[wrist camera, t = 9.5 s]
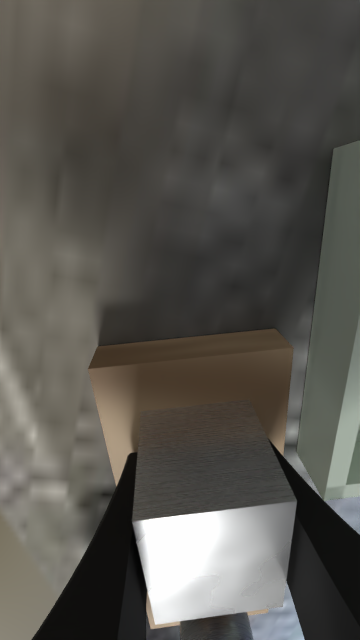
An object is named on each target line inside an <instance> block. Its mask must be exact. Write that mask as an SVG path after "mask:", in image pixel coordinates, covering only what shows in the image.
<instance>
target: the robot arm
mask: <svg viewBox="0 0 360 640" xmlns="http://www.w3.org/2000/svg"><path fill="white" fill-rule="evenodd" d="M268 440H269V442H270V444H271V447H272V449H273V451H274V453H275V455H276V457H277V459H278V461H279V464H280V466H281V468H282V470H283V472H284V474H285V476H286V478H287V481H288V483H289V485H290V487H291V489H292V491H293V493H294V496H295V498H296V500H297V505H296V512H295V520H294V527H293V534H292V542H291V549H290V557H289V564H288V571H287V579H286V581H287V584H288V587H289V589H290V592H291V595H292V599H293V602H294V605H295V609H296V612H297V615H298V618H299V622H300V625H301V628H302V632H303V635H304V639H305V640H360V535H359V534H358V533H357V532H356V531H355V530H354V529H353V528H351V527H350V526H349V525H348V524H347V523H346V522H345V521H344V520H343V519H342V518H341V517H340V516H339V515H338V514H337V513H336V512H335V511H334V510H333V509H332V508H331V507H330V506H329V505H328V504H327V503H326V502H324V501H323V499H322V498H321V497H320V496H319V495H318V494H317V493H316V492H315V491H314V490H313V489H312V488H311V487H310V486H309V485H308V484H307V483H306V482H305V480H304V479H303V478H302V477H301V476H300V475H299V474H298V473H297V472H296V471H295V469H294V468H293V467H292V466H291V465H290V464H289V463H288V461H287V460H286V459H285V458H284V457H283V455H282V454H281V453H280V452H279V451H278V449H277V448H276V447H275V446H274V444H273V443H272V442H271V441H270V439H268ZM137 454H138V452H134V453H130V454H129V455H128V456H127V460H126V463H125V466H124V469H123V471H122V474H121V477H120V479H119V482H118V484H117V487H116V489H115V492H114V494H113V496H112V499H111V501H110V503H109V505H108V508H107V510H106V512H105V514H104V516H103V518H102V520H101V522H100V524H99V526H98V529H97V531H96V533H95V535H94V537H93V539H92V541H91V543H90V544H89V546H88V548H87V550H86V552H85V554H84V556H83V557H82V559H81V561H80V563H79V565H78V566H77V568H76V570H75V572H74V573H73V575H72V577H71V579H70V580H69V582H68V584H67V585H66V587H65V588H64V590H63V592H62V593H61V595H60V597H59V598H58V600H57V602H56V603H55V605H54V607H53V608H52V610H51V611H50V613H49V614H48V616H47V618H46V619H45V621H44V622H43V624H42V625H41V627H40V628H39V630H38V631H37V633H36V634H35V636H34V637H33V639H32V640H146V603H147V586H146V581H145V577H144V573H143V568H142V564H141V559H140V555H139V550H138V546H137V542H136V537H135V533H134V528H133V524H132V516H133V504H134V491H135V479H136V467H137Z"/></svg>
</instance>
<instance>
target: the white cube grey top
mask: <svg viewBox="0 0 360 640" xmlns="http://www.w3.org/2000/svg"><path fill="white" fill-rule="evenodd" d="M296 505H297V500H296V498H295V496H294V493H293V491H292V489H291V487H290V485H289V483H288V481H287V478H286V476H285V474H284V472H283V470H282V468H281V466H280V464H279V461H278V459H277V457H276V455H275V453H274V451H273V449H272V447H271V444H270V442H269V440H268V438H267V436H266V434H265V432H264V430H263V427H262V425H261V423H260V421H259V419H258V417H257V415H256V412H255V410H254V408H253V406H252V404H251V402H250V400H249V399H248V400H239V401H230V402H221V403H212V404H203V405H194V406H185V407H176V408H167V409H158V410H149V411H141V417H140V430H139V442H138V454H137V467H136V479H135V491H134V504H133V516H132V524H133V528H134V533H135V537H136V542H137V546H138V550H139V555H140V559H141V564H142V568H143V573H144V577H145V581H146V586H147V590H148V595H149V599H150V604H151V608H152V613H153V617H154V621H155V625H157V624H164V623H171V622H178V621H185V620H192V619H199V618H206V617H213V616H220V615H227V614H235V613H242V612H249V611H256V610H263V609H270V608H277V607H283V601H284V593H285V586H286V579H287V571H288V564H289V557H290V549H291V542H292V534H293V527H294V520H295V512H296Z"/></svg>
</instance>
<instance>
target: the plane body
mask: <svg viewBox="0 0 360 640" xmlns="http://www.w3.org/2000/svg"><path fill="white" fill-rule="evenodd" d="M293 349H294V348H293V346H292V345H291V344H290V343H289V342H288V341H287V340H286V339H285V338H284V337H283V336H282V335H281V334H280V333H279V332H278V331H277V330H276V329H275V328H274V329H265V330H255V331H245V332H235V333H225V334H215V335H205V336H195V337H185V338H176V339H166V340H156V341H146V342H136V343H126V344H116V345H106V346H98V347H97V349H96V351H95V354H94V356H93V359H92V361H91V363H90V366H89V368H88V371H89V375H90V379H91V383H92V387H93V392H94V396H95V400H96V404H97V408H98V412H99V416H100V421H101V425H102V429H103V433H104V437H105V441H106V445H107V450H108V454H109V458H110V462H111V466H112V470H113V474H114V479H115V483H116V487H117V484H118V482H119V479H120V477H121V474H122V471H123V469H124V466H125V463H126V460H127V456H128V455H129V454H130V453H134V452H138V442H139V430H140V417H141V411H149V410H158V409H167V408H176V407H185V406H194V405H203V404H212V403H221V402H230V401H239V400H248V399H249V400H250V402H251V404H252V406H253V408H254V410H255V412H256V415H257V417H258V419H259V421H260V423H261V425H262V427H263V430H264V432H265V434H266V436H267V438H268V439H270V441H271V442H272V443H273V444H274V446H275V447H276V448H277V449H278V451H279V452H280V453H281V454H282V455H283V452H284V442H285V431H286V421H287V411H288V400H289V390H290V380H291V369H292V359H293ZM146 611H147V615H148V619H149V624H150V628H151V629H156V628H163V627H170V626H177V625H180V621H178V622H171V623H164V624H157V625H155V621H154V617H153V613H152V608H151V604H150V599H149V595H148V590H147V603H146ZM247 613H248V615H254V614H261V613H268V609H263V610H256V611H249V612H247Z"/></svg>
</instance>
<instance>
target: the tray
mask: <svg viewBox="0 0 360 640" xmlns="http://www.w3.org/2000/svg"><path fill="white" fill-rule="evenodd" d="M297 454H298V456H299V458H300V459H301V461H302V463H303V465H304V466H305V468H306V470H307V472H308V474H309V475H310V477H311V479H312V481H313V483H314V484H315V486H316V488H317V490H318V491H319V493H320V495H321V497H322V499H323V500H324V501H327V500H334V499H342V498H350V497H358V496H360V140H359V141H355V142H352V143H349V144H346V145H343V146H340V147H337V148H334V149H333V157H332V165H331V173H330V182H329V190H328V198H327V206H326V214H325V223H324V231H323V239H322V247H321V255H320V264H319V272H318V280H317V288H316V296H315V305H314V313H313V321H312V329H311V337H310V346H309V354H308V362H307V370H306V378H305V386H304V395H303V403H302V411H301V419H300V427H299V436H298V444H297Z"/></svg>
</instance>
